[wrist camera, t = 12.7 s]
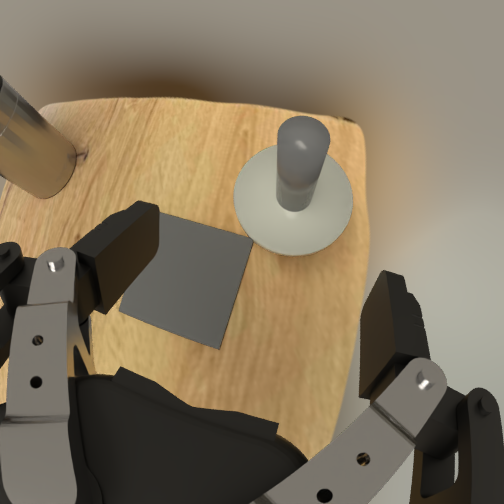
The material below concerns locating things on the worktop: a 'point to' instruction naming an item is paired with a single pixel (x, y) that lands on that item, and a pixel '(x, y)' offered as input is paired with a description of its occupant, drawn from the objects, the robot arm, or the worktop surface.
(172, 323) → the mat
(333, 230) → the peg on round base
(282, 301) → the worktop surface
